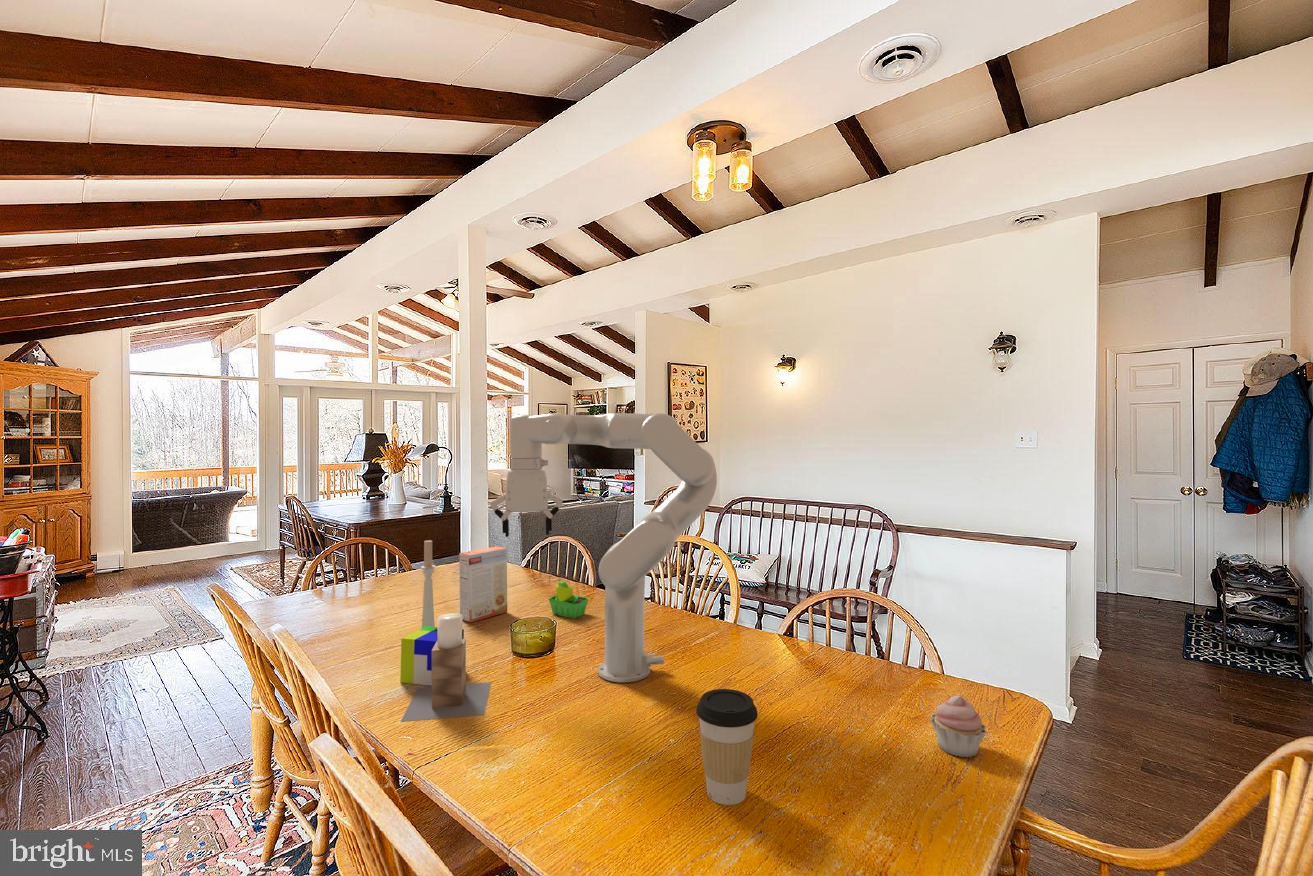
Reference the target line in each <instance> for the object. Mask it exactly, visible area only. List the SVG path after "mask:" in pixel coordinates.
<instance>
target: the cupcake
mask: <svg viewBox="0 0 1313 876" xmlns="http://www.w3.org/2000/svg"><path fill="white" fill-rule="evenodd" d="M929 721H930V723H931V725H932V727H933V728H934V731H935V735H936V738H937V742H938V745H939V747H940V749H941V750H942V751H944V752H946V753H947V754H950V755H952V756H954V755H955V757H957V756H959V757H958V758H964V757H967V758H968V757H969V758H973V757H972V756H974V757H975V756H976V755H977V754H978V752H979V748H980V745H981V743H982V740H983V738H984V737H985V736H986V734H987V733H988V732H987V731H986V729H987V726H986V725H985V724H983V721H982V717H980V715H979V713H977V711H976V708H975V707H974V705H973V704H971V702H970V701H968V700H967V699H965V698H964V697H963V696H961V695H954V696H951V697H950V698H948V700H947V701H945V702H943V703H941V704H939V705H938V706H937V708H936V713H935V714H931V718H930V719H929ZM967 758H966V759H967Z"/></svg>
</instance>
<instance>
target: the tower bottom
mask: <svg viewBox="0 0 1313 876" xmlns="http://www.w3.org/2000/svg"><path fill="white" fill-rule="evenodd" d="M466 667H467V666H466ZM466 667H465V669H464V672H463V675H462V677H459V678H444V679H432V708H438V707H451V706H462V703H463V700H464V697H465V694H466V684H467V682H466V680H467V679H466V676H467V673H466V672H467V671H466V670H467V668H466Z"/></svg>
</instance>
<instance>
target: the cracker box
mask: <svg viewBox="0 0 1313 876" xmlns="http://www.w3.org/2000/svg"><path fill="white" fill-rule="evenodd" d="M458 554H459V556H458V557H459V559H458V560H459V561H458V562H459V566H458V567H459V614H461V615H462V621H464V622H467V623H473V622H478V621H481V620H484V619H489V618H490V617H494V616H498V615H501V614H506V613H507V612H508V549H507V547H502V546H498V545H496V546H491V547H486V548H485V547H484V548H481V549H480V548H479V549H475V550H470V551H469V550H468V551H464V552H459V553H458Z"/></svg>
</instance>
